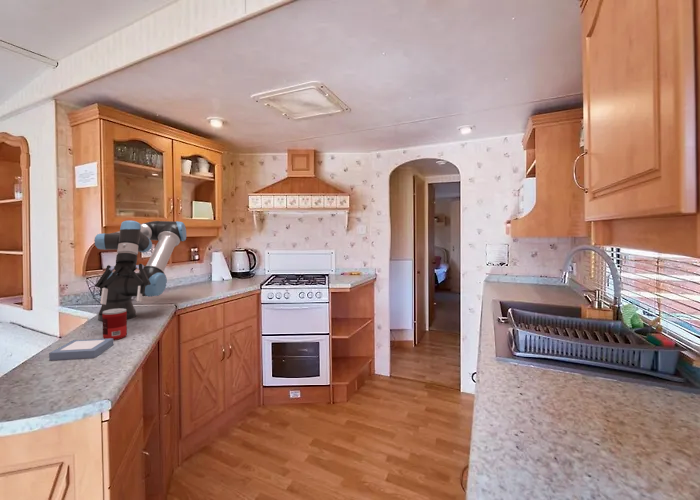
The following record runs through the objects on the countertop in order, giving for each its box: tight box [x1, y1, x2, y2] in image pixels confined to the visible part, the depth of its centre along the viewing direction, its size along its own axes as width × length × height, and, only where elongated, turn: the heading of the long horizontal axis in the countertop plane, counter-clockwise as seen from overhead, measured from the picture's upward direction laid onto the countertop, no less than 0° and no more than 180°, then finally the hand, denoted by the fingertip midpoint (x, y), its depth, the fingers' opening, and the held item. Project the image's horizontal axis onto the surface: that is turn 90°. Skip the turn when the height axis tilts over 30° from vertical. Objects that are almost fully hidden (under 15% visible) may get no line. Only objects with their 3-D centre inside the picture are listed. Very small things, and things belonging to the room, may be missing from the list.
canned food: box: [101, 308, 128, 341], centre depth 130 cm, size 8×8×11 cm
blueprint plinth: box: [48, 338, 114, 361], centre depth 114 cm, size 13×13×3 cm
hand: (121, 302), depth 135 cm, fingers open, 13 cm apart
